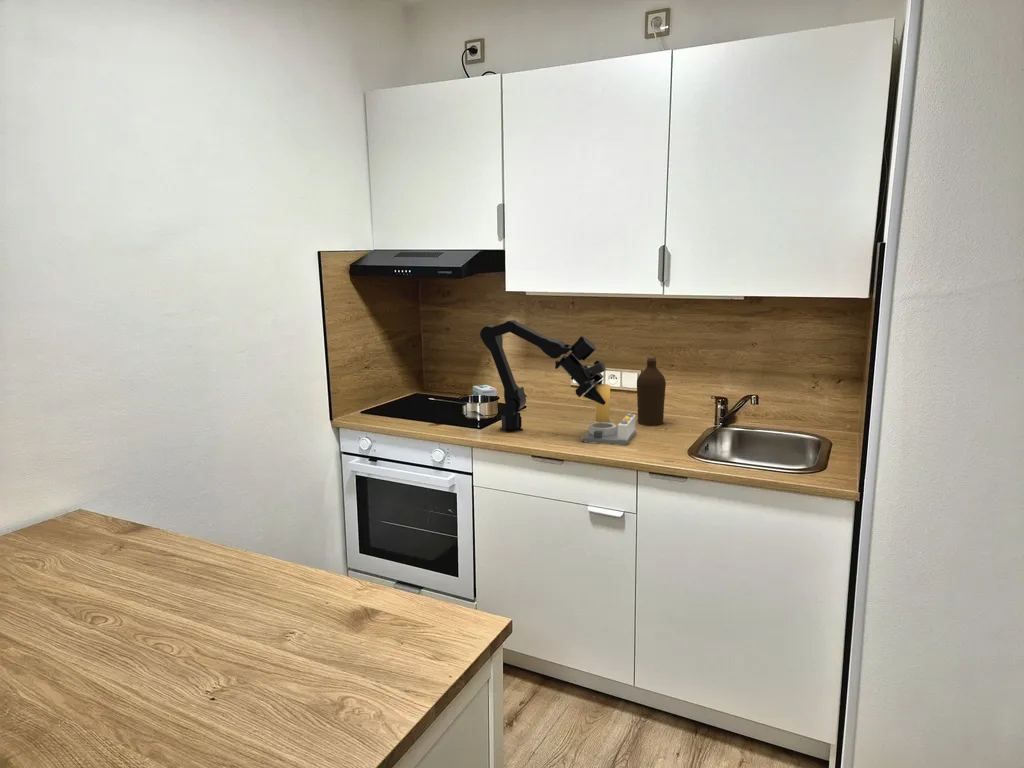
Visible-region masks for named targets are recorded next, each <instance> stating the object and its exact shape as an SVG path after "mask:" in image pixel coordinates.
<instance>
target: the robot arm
mask: <svg viewBox="0 0 1024 768" xmlns="http://www.w3.org/2000/svg"><path fill="white" fill-rule="evenodd" d="M508 333H511V334H513V335H515V336H517V337H518V338H521V339H523V340H525V341H527V342H528V343H530V344H533V345H534V346H536V347H537V348H539V349H540V350H541V351H542V353H544V354H545V355H547V356H548V357H549V358H551V359H559V358H560V357H561V358H560V360H555V361H554V363H555V367H554V369H556V370H557V369H559V368H560V367H561V368H563V370H564V371H565V372H566V373H567V374H568V375H569V376H570V380H571V381H575V383H576V384H577V385H578V387H577V388H576V389H575V395H577V397H578V398H581V397H583V398H585V399H586V398H587V399H589V400H591V401H594V402H595V401H596V402H598V403H600V404H602V405H604V404H605V403H606V402H605V401H604V399H603V398H602V396H601V395H600V393H599V392H598V391H597V384H603V381H604V380H603V378H604V375H603V374H602V373H603V372H605V371H606V370H607V368H606V364H605V363H604V362H603V361H601V360H600V359H598V360H595V361H594V362H593V365H591V366H588V365H585V364H584V365H583V364H582V362H581V360H582V361H586V360H587V359H588V358H589V357H590V356H591V355H592V354H593V353H594V352H595V351H596V350H597V347H596V345H595V344H594V343H593V342H592V341H591V340H589V339H588V338H587V337H585V336H584V335H581V336H580V337H579V338H578V340H576V342H574V344H567V343H565V342H564V341H563V340H560V339H557V338H553V337H549V336H545V335H543V334H541V333H540V332H537V331H536V330H534V329H531V328H529V327H528V326H525V325H524V324H521V323H520V322H518V321H516V320H515V319H510V320H507V321H506V322H504V323H500V324H498V325H496V324H490V325H487V326H483V328H482V329H481V330H480V332H479V336H480V339H481V341H482V343H483V345H484V346H485V347H486V348H487V349H488V351H489V352H490V354H491V357H492V360H493V361H494V365H495V367H496V370H497V373H498V376H499V379H500V382H501V383H502V386H503V399H504V405H503V406H502V407H501V408H500V409H499V413H500V416H501V426H500V427H499V430H501V431H503V432H506V433H513V432H514V433H515V432H519V431H523V430H524V428H523V427H522V425H523V424H522V420H523V419H522V416H521V411H522V408H523V407H524V406H525V405H526V403H527V397H528V396H527V394H526V393H525V389H524V386H521V387H519V385H517V382H516V381H515V378H514V375H513V372H512V370H511V367H510V364H509V362H508V358H507V357H506V353H505V351H504V348H503V341H504V339H503V335H505V334H508ZM569 353H570V354H569ZM566 354H568V355H566Z"/></svg>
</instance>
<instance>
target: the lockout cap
mask: <svg viewBox="0 0 1024 768" xmlns="http://www.w3.org/2000/svg"><path fill="white" fill-rule="evenodd" d="M597 391H598V392H599V393H600V395H601V396H602V398H603V399H604V401H605V402H606V403H605V404H604V405H602V404H600V403H598V402H596V401H594V402H595V409H594V410H595V411H594V412H595V415H594V416H595V417H594V418H595V419H594V421H595V423H597V422H611V419H610V418H611V385H610V384H608V383H602V384H597Z"/></svg>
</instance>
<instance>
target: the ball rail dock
mask: <svg viewBox="0 0 1024 768" xmlns="http://www.w3.org/2000/svg"><path fill="white" fill-rule="evenodd" d="M636 420H637V419H636V414H633V413H631V412H629V413H628V412H627V414H626V415H625V416H624V418H623V419H622V420H621V421H620V423H618V424H615V423H613V422H612V421H609V422H592V423H590V424H589V425H588V431H587V432H586V433H585V434H584V435H583V436H582V437H581V441H586V442H585V443H588V442H597V443H596V444H601V443H607V444H606V445H614V444H619V445H618V446H627V445H628V444H629V442H630V441H631V440H632V438H633V437H634V436H635V434H636V433H637V430H636V429H637V428H636ZM632 436H633V437H632ZM630 439H631V440H630ZM608 443H609V444H608ZM627 443H628V444H627Z"/></svg>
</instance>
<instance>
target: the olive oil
mask: <svg viewBox="0 0 1024 768" xmlns="http://www.w3.org/2000/svg"><path fill="white" fill-rule="evenodd" d="M646 359H647V361H646V367H645V369H643V370H642V372H640V374H639V375H638V377H637V380H636V400H637V423H638V424H640V425H643V426H649V425H650V426H660V425H662V424H664V416H665V415H664V413H665V398H666V387H667V386H666V385H667V383H666V381H667V380H666V377H665V376H664V375H663V373H662V372H661V371H660V370H659V369H658V368H657V360H656V359H657V357H656V356H647V358H646Z"/></svg>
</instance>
